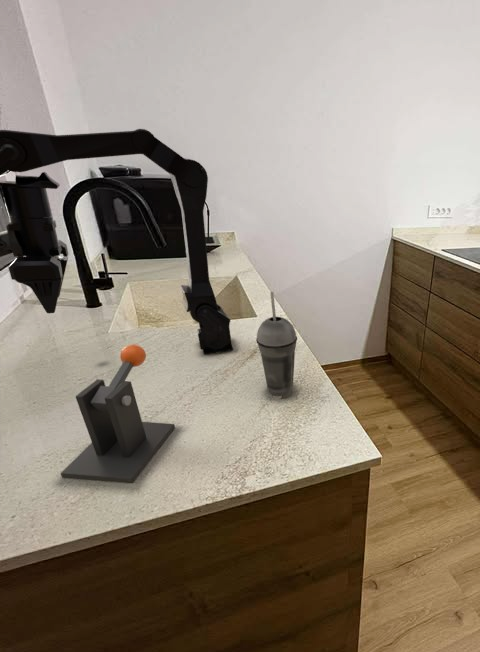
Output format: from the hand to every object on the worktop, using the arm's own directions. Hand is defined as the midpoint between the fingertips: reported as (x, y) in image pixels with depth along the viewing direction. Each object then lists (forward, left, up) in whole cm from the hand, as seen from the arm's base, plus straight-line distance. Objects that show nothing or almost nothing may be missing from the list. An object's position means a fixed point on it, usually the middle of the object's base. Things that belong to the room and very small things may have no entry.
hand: (53, 304), depth 71 cm
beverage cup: (-36, +21, -15) cm, 45 cm away
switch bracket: (-10, +29, -15) cm, 34 cm away
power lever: (-12, +25, -5) cm, 29 cm away
